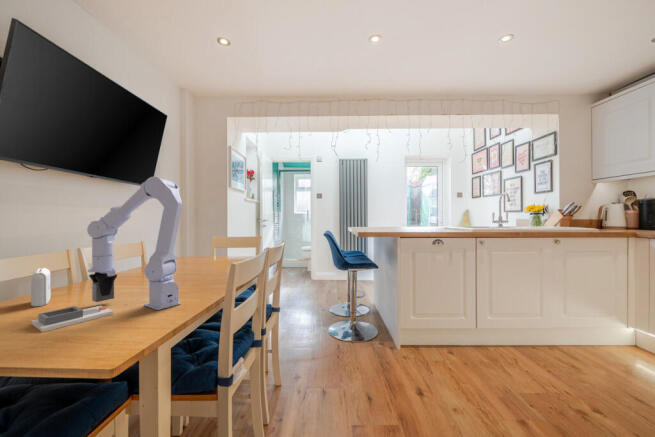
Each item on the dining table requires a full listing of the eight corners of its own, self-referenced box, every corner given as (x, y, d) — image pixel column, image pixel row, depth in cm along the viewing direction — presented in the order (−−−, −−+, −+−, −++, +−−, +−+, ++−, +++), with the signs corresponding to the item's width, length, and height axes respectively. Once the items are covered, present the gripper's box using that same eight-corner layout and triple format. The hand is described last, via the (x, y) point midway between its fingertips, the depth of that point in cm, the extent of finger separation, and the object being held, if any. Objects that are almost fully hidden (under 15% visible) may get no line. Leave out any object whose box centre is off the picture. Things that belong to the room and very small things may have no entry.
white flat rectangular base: (113, 314, 87) (113, 304, 87) (41, 332, 73) (41, 320, 73) (100, 308, 92) (100, 299, 92) (31, 324, 79) (31, 313, 79)
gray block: (114, 298, 97) (113, 281, 97) (96, 302, 93) (96, 284, 93) (109, 296, 99) (109, 280, 99) (92, 300, 95) (92, 283, 95)
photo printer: (35, 300, 100) (34, 267, 100) (51, 298, 103) (51, 265, 103) (29, 308, 92) (29, 271, 92) (47, 305, 95) (47, 269, 95)
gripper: (80, 255, 96) (80, 294, 96) (96, 258, 89) (97, 300, 89) (105, 253, 102) (105, 289, 102) (122, 255, 94) (122, 295, 95)
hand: (103, 294), depth 96 cm, fingers closed on gray block, 4 cm apart
